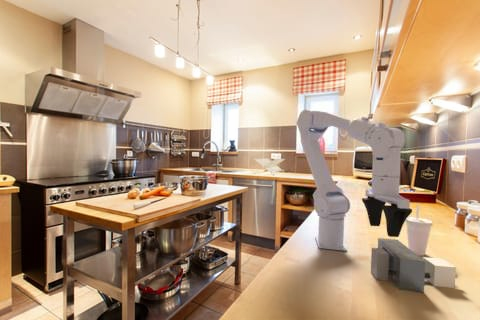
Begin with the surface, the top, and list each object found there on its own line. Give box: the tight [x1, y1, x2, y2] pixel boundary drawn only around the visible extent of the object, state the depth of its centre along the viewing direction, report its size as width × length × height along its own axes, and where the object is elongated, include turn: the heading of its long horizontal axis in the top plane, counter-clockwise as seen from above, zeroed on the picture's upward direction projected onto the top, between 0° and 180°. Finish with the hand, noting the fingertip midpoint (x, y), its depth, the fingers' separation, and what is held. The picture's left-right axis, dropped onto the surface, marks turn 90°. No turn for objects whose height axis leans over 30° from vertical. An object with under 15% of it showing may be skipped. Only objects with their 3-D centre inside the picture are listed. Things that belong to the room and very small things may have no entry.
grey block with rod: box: [370, 247, 459, 289], centre depth 51 cm, size 4×16×6 cm, turn 82°
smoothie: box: [404, 204, 433, 256], centre depth 65 cm, size 6×6×14 cm
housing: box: [377, 237, 426, 293], centre depth 52 cm, size 12×4×6 cm, turn 168°
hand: (383, 230), depth 55 cm, fingers open, 7 cm apart
